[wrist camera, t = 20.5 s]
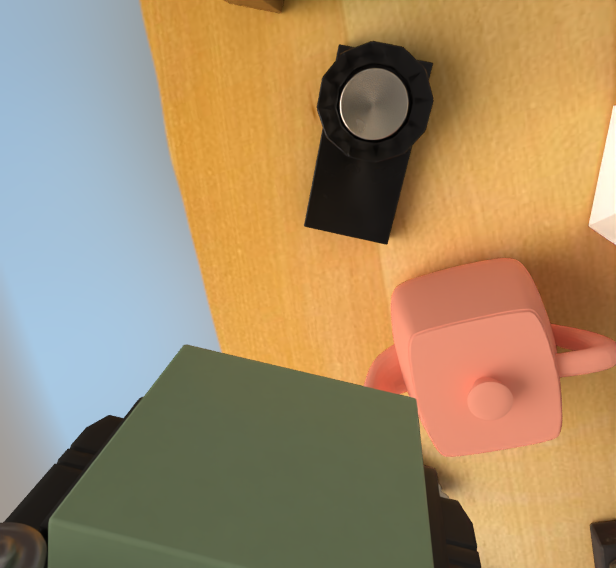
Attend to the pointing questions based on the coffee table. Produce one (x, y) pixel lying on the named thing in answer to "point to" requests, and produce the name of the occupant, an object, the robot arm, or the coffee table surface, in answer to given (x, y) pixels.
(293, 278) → the coffee table surface
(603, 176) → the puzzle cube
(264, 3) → the post
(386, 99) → the knob
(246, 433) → the block
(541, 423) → the teapot
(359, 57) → the control block
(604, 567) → the sculpture
